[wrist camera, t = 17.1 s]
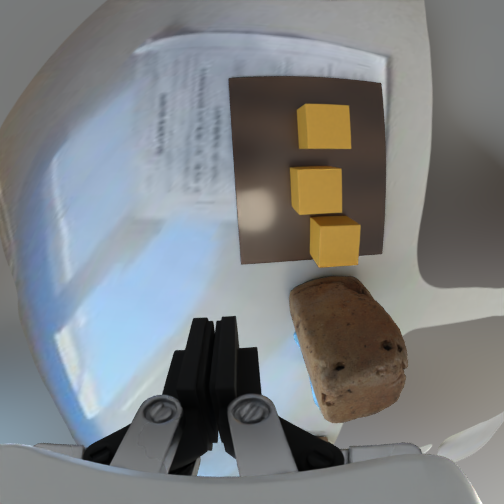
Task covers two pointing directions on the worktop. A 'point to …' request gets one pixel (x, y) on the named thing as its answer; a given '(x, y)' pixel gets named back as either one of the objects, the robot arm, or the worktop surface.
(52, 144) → the worktop surface
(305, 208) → the ochre block
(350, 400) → the brown rounded lump
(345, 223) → the ochre block
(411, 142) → the worktop surface
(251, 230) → the mat
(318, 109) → the ochre block
